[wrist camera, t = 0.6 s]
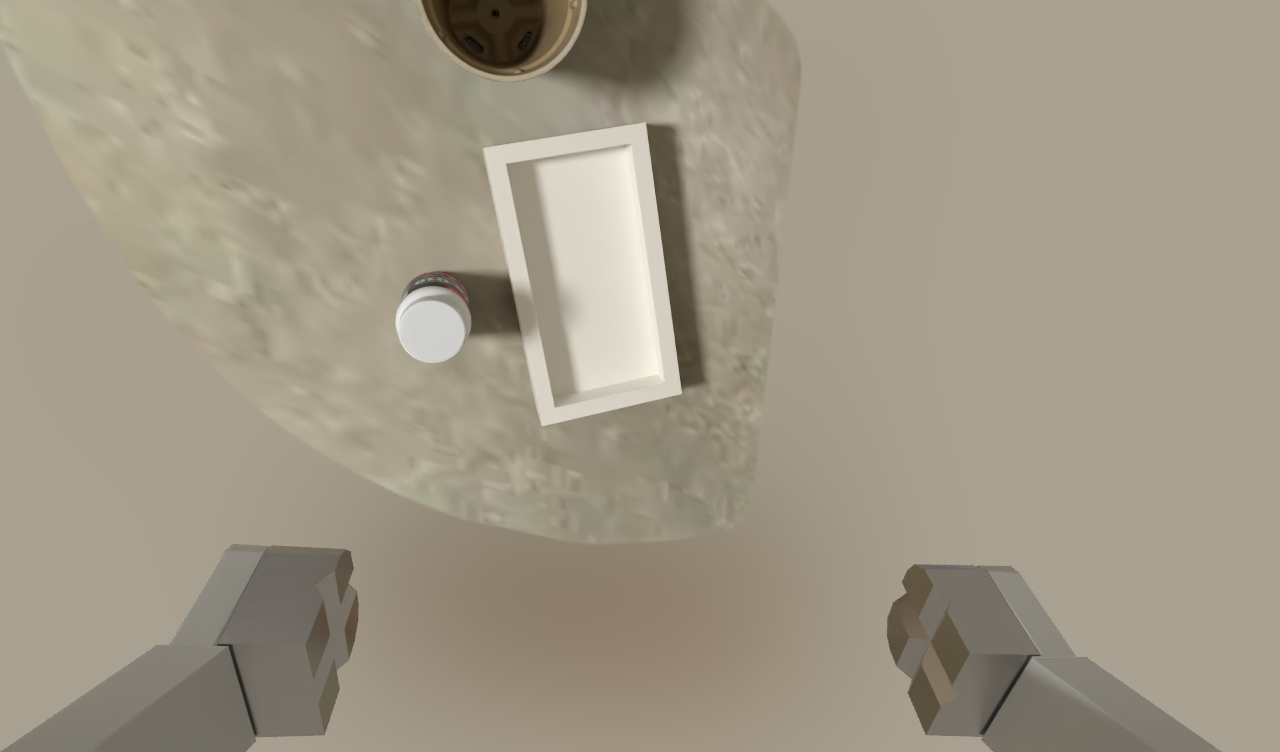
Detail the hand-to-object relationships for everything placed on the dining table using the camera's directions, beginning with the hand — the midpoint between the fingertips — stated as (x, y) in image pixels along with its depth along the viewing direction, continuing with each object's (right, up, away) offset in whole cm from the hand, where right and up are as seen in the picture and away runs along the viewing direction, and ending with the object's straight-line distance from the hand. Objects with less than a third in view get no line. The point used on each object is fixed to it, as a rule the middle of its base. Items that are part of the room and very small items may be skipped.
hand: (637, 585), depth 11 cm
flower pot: (-10, +27, +37) cm, 46 cm away
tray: (-4, +11, +43) cm, 45 cm away
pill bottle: (-15, +8, +41) cm, 45 cm away
